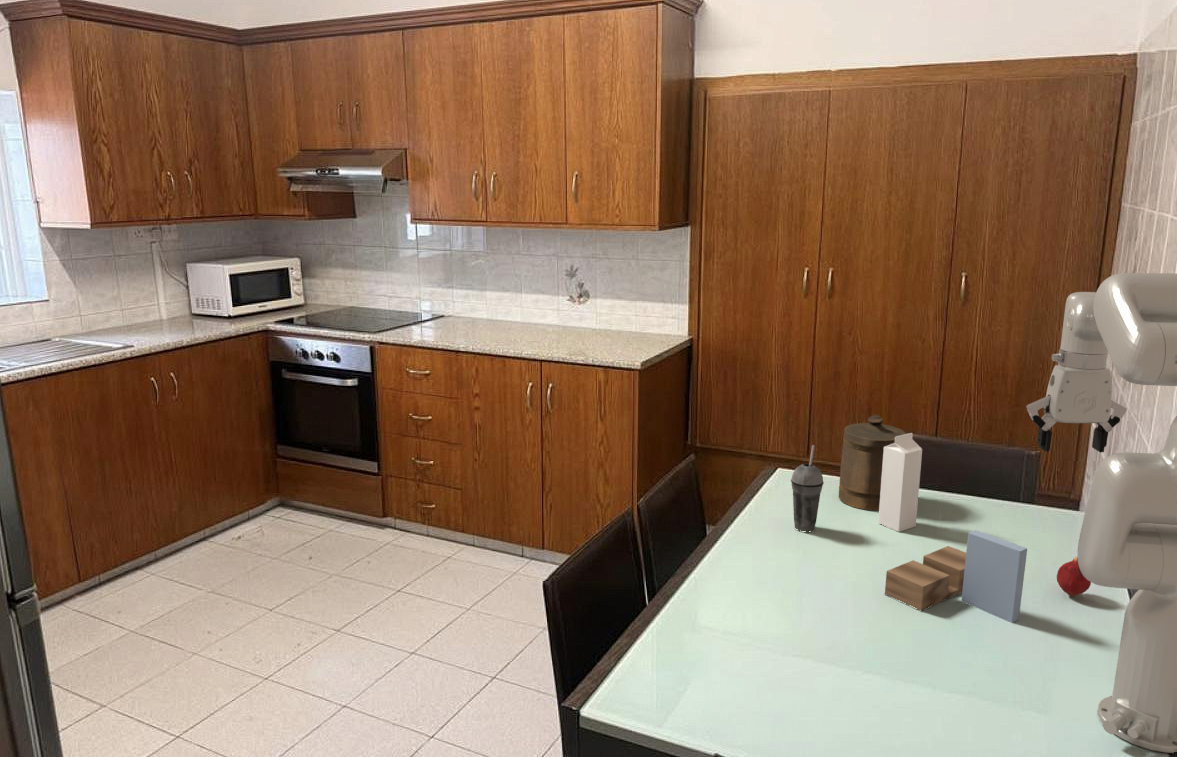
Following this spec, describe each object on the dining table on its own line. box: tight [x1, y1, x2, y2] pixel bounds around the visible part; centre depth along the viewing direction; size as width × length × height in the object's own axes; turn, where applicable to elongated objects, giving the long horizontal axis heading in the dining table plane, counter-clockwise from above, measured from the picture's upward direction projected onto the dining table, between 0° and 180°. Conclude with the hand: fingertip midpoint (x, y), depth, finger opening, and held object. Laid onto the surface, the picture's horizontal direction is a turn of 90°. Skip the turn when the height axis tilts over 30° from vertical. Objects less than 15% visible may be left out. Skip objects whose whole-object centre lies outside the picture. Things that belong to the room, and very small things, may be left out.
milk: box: [877, 432, 923, 533], centre depth 197 cm, size 6×6×22 cm
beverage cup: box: [790, 444, 825, 533], centre depth 195 cm, size 7×7×20 cm
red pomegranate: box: [1056, 556, 1092, 597], centre depth 164 cm, size 6×6×8 cm
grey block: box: [960, 529, 1028, 624], centre depth 159 cm, size 2×10×14 cm, turn 34°
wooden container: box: [838, 414, 907, 512], centre depth 213 cm, size 15×15×22 cm
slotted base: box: [884, 545, 966, 611], centre depth 168 cm, size 20×8×5 cm, turn 124°
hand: (1070, 449), depth 160 cm, fingers open, 9 cm apart
